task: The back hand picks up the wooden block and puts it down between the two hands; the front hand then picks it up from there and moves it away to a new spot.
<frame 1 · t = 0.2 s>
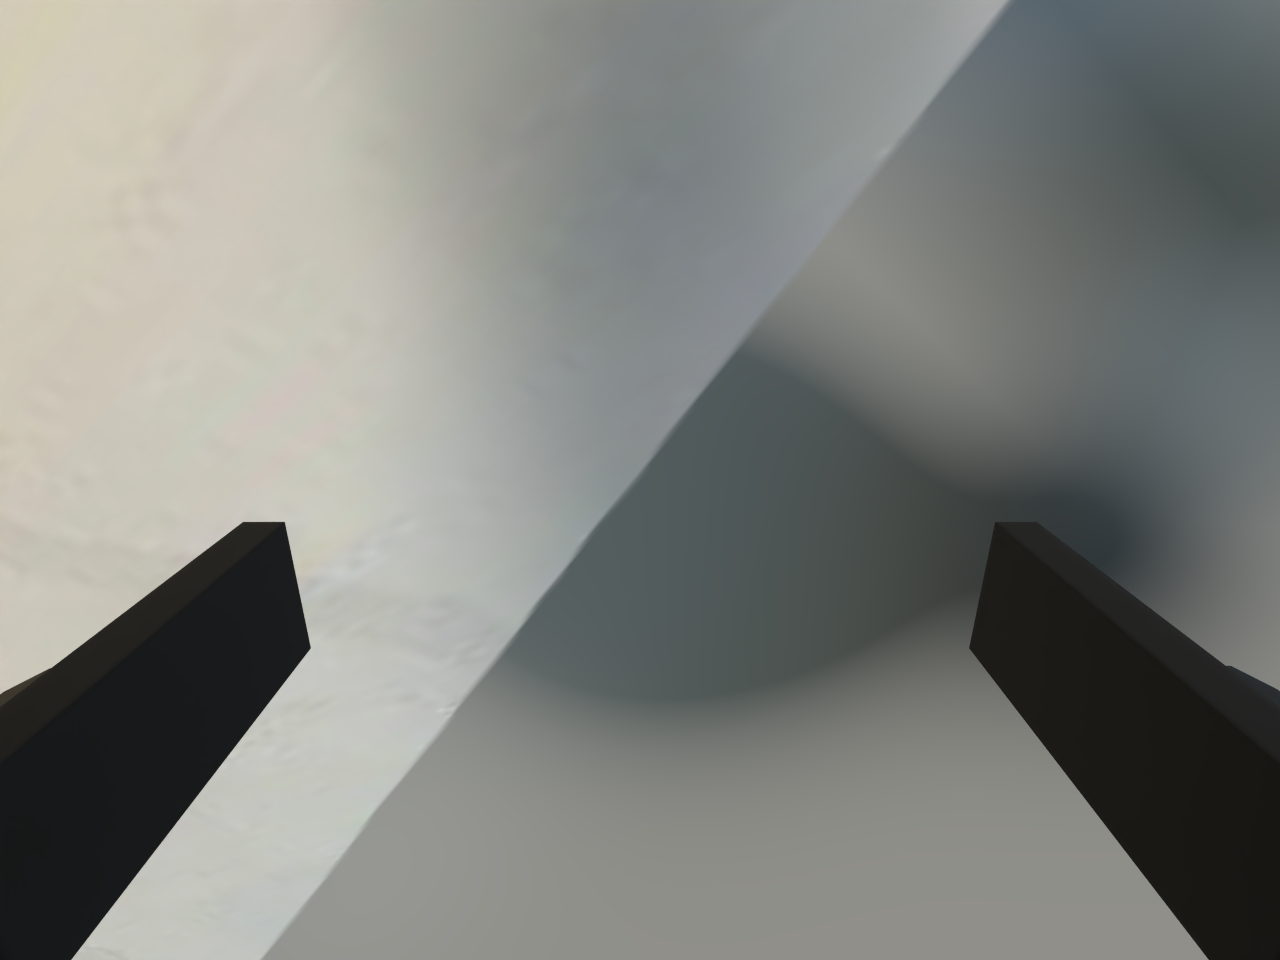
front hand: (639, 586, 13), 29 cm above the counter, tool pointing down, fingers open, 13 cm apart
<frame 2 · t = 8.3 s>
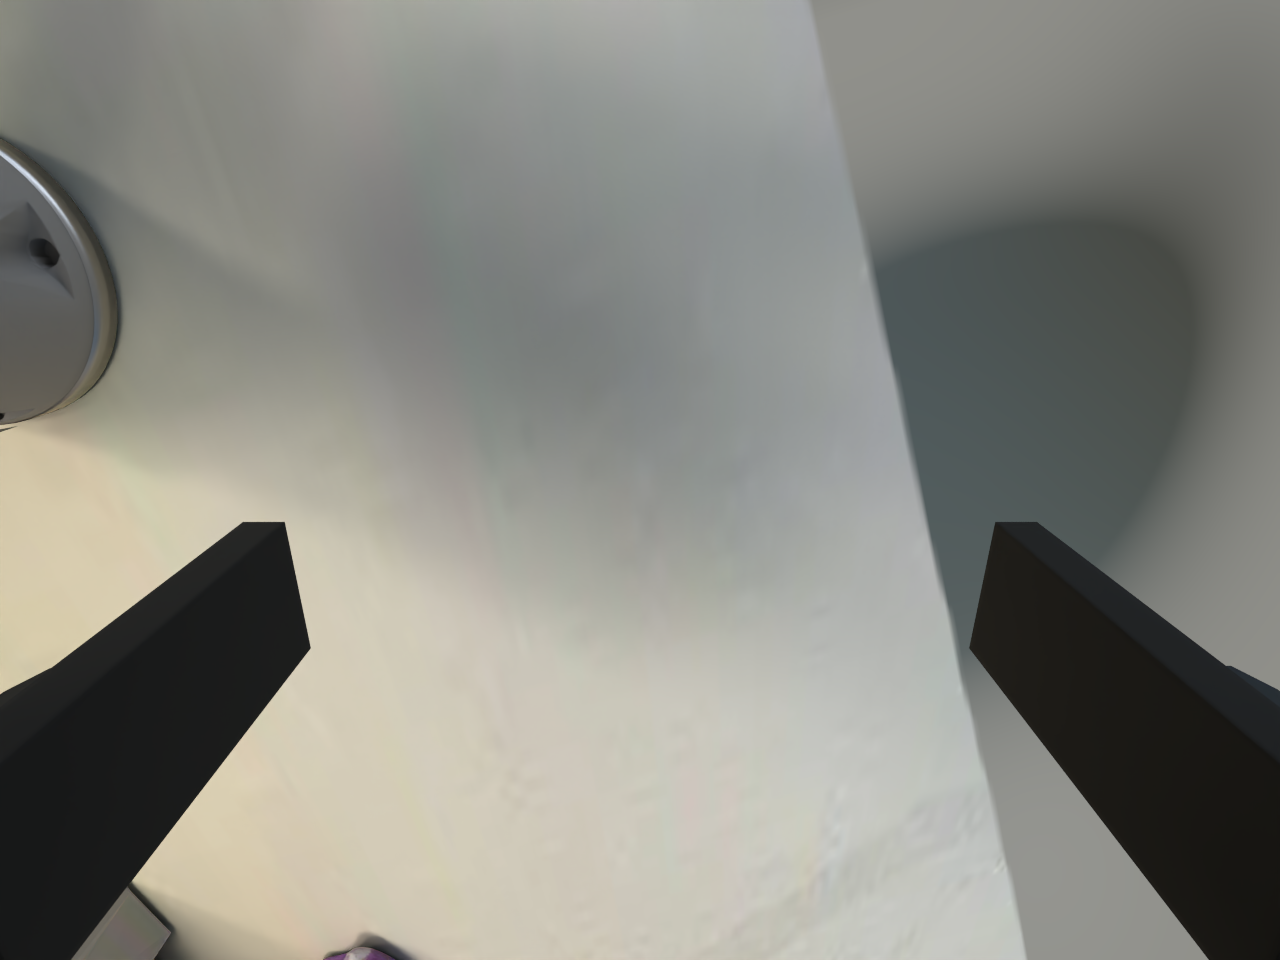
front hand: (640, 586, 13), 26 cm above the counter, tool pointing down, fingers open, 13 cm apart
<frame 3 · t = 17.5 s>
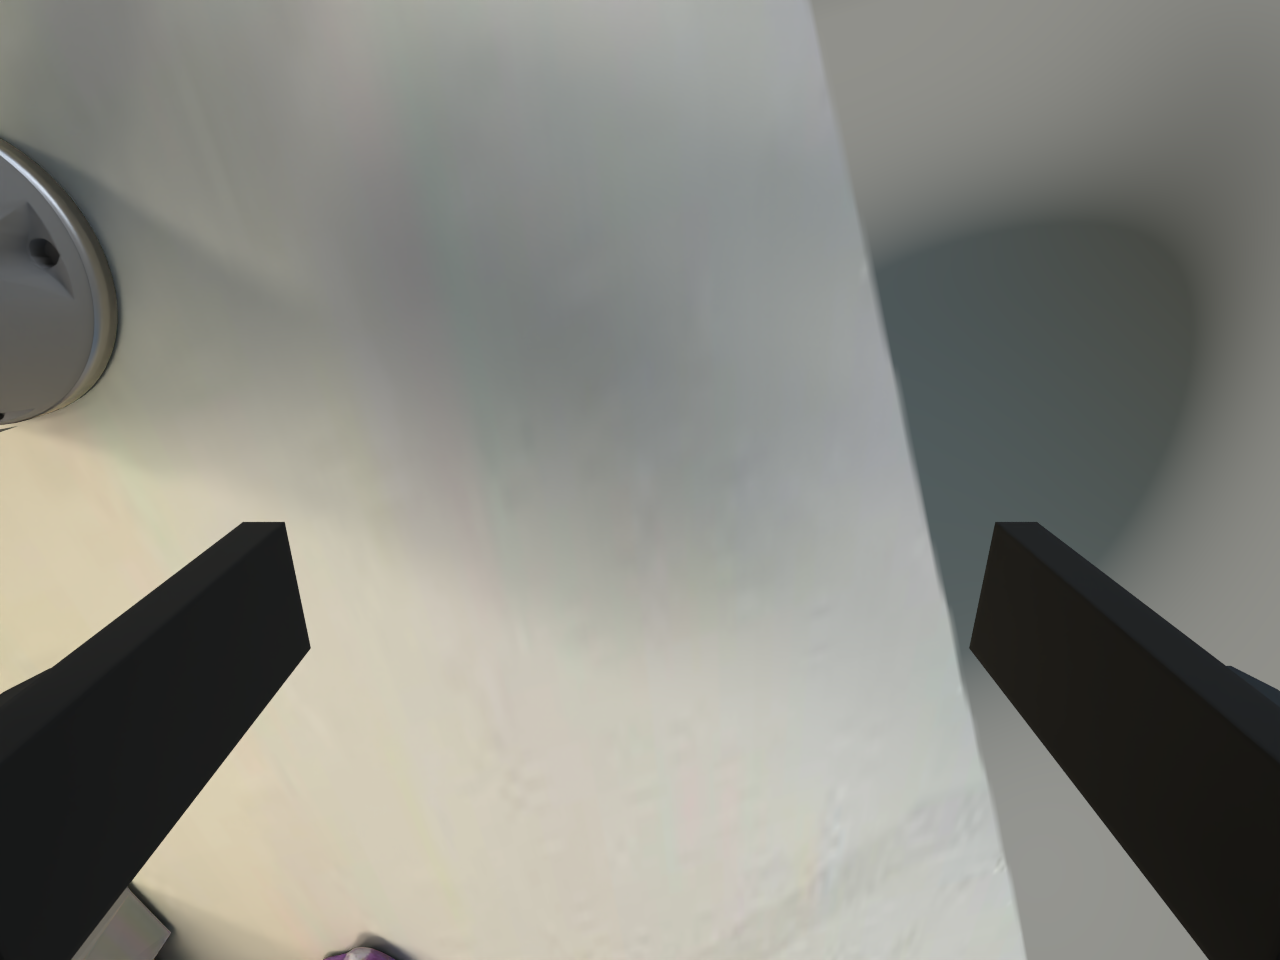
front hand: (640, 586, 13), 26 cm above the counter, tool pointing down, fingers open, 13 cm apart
when the back hand's fingers open (4 cm above the counter, at t = 26.8 s): block drops 2 cm, on the counter.
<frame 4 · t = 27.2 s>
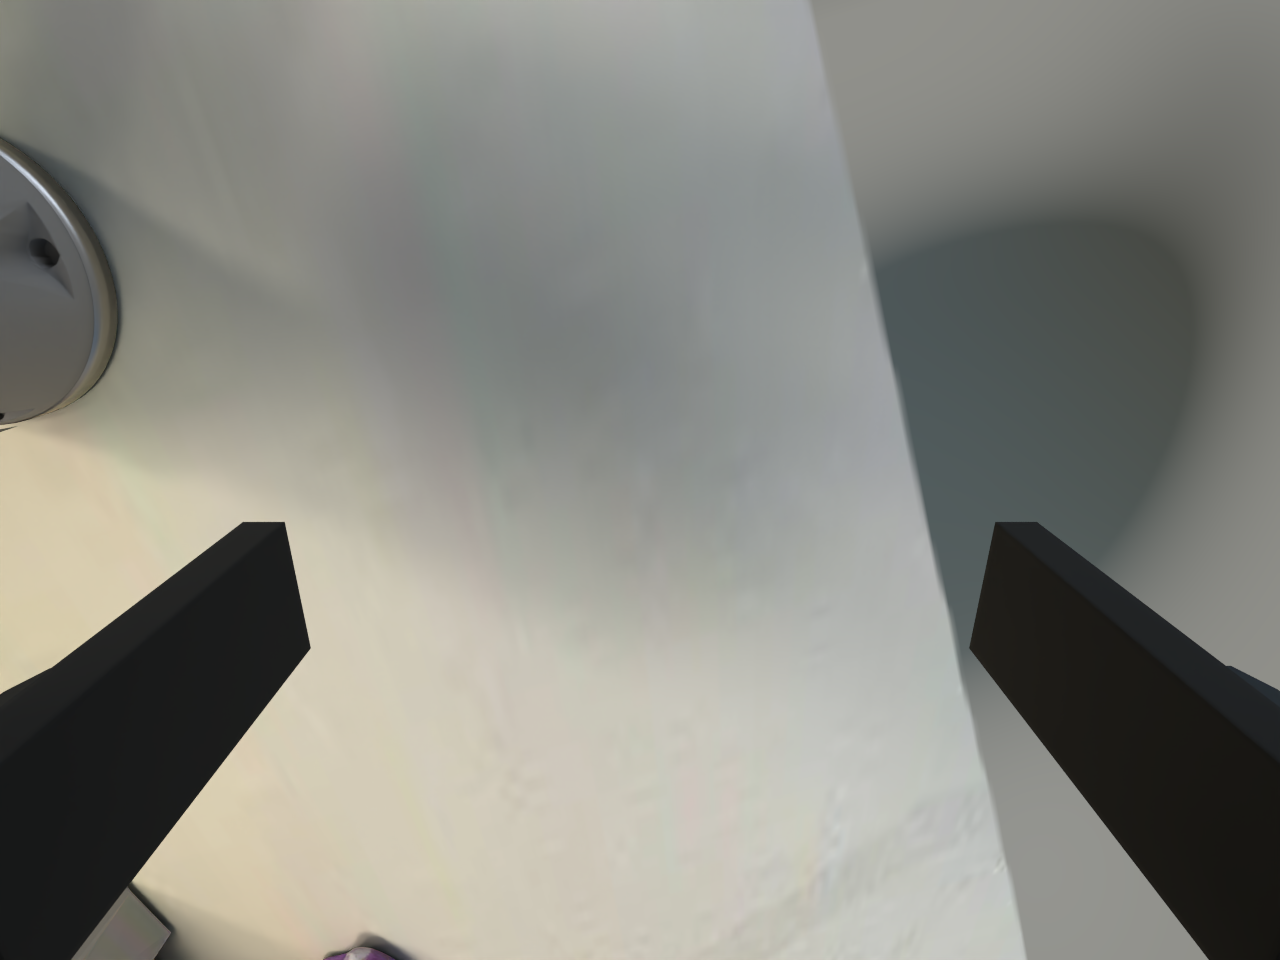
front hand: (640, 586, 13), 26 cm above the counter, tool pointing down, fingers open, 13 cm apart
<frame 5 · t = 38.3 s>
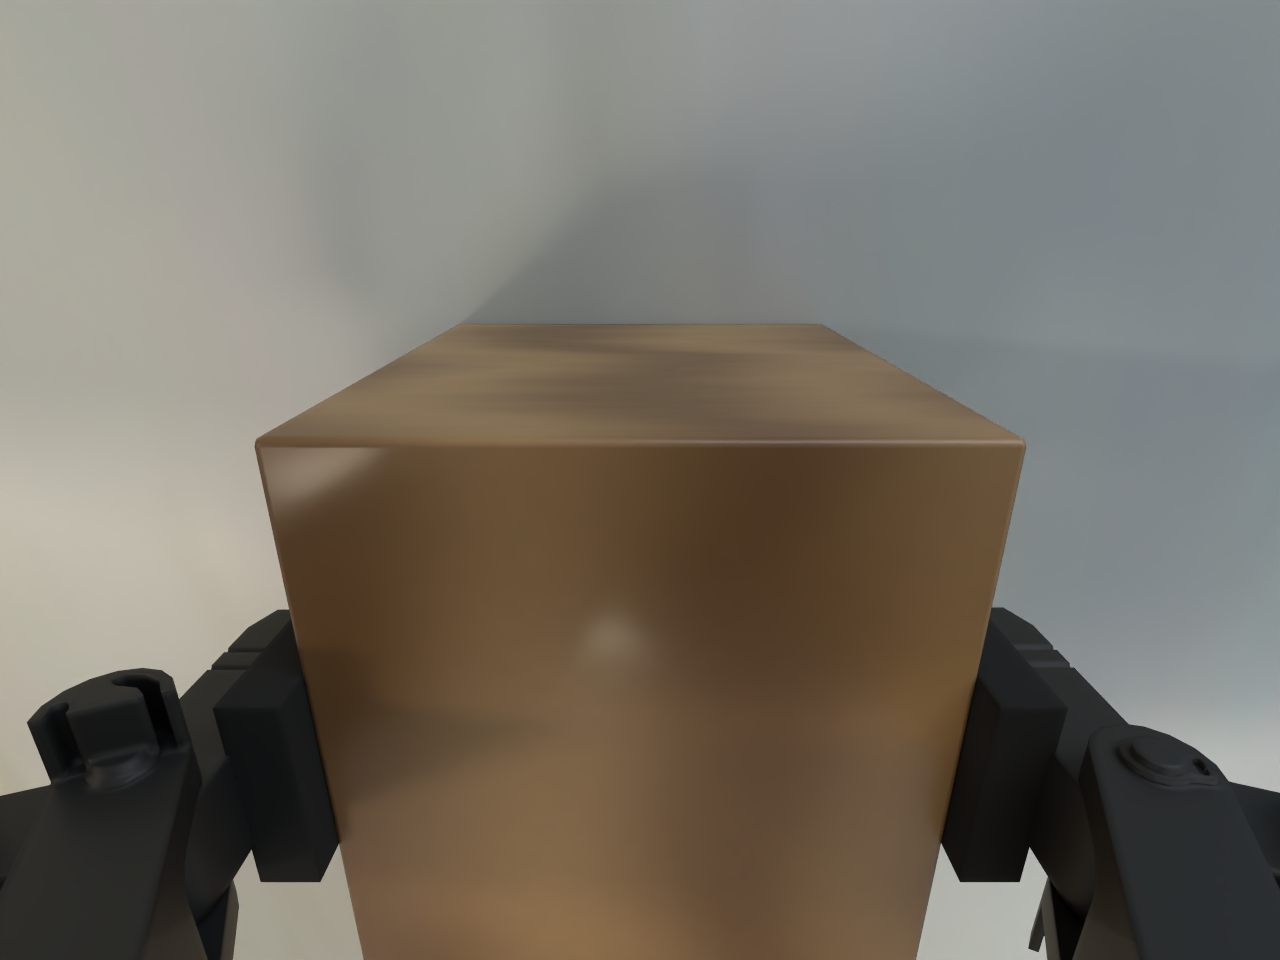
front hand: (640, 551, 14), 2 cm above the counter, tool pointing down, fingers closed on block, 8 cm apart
block: (640, 502, 16), on the counter, touching front hand
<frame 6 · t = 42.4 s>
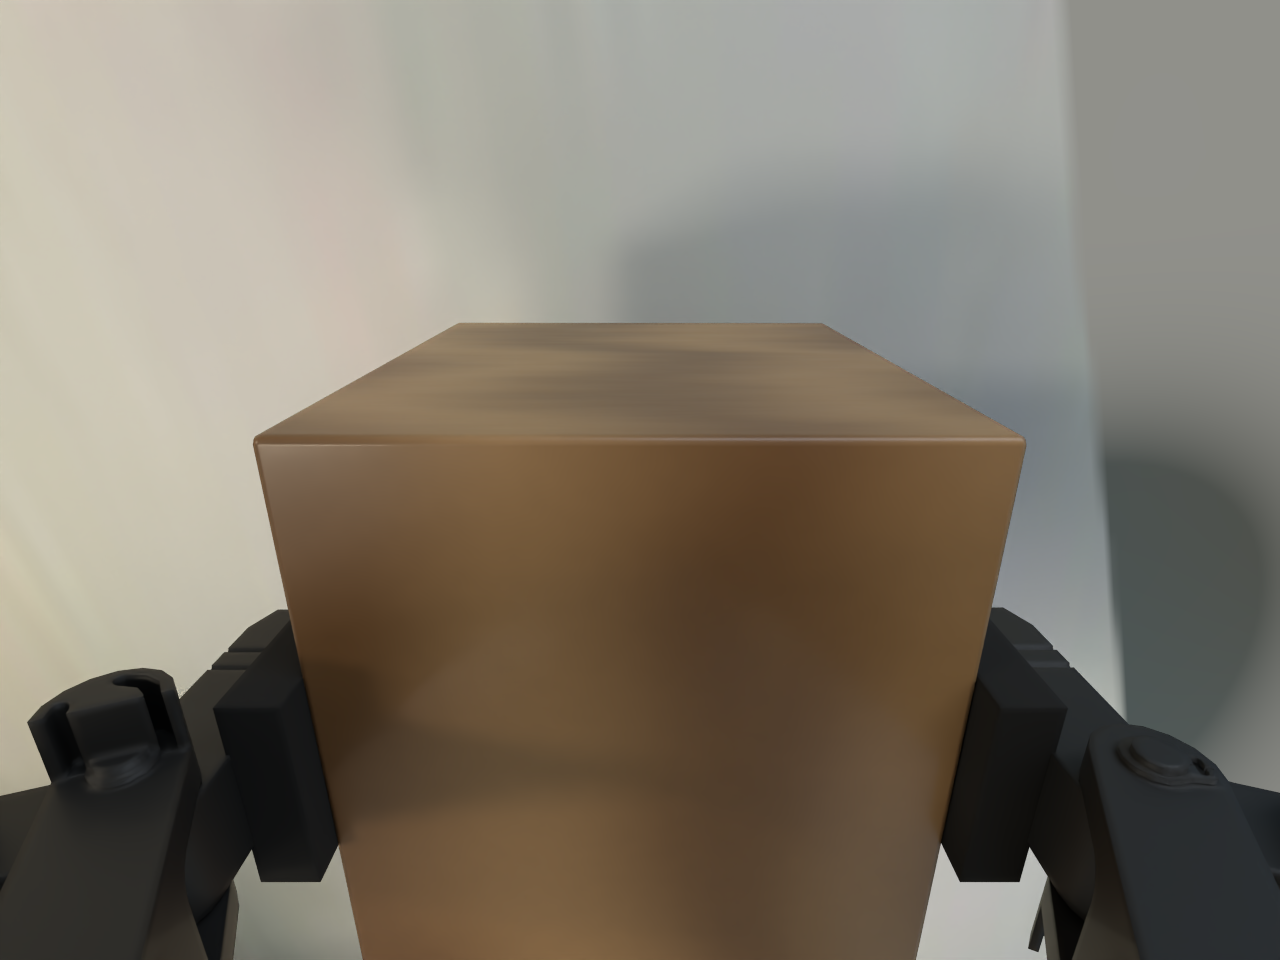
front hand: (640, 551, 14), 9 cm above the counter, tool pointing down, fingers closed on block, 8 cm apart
block: (640, 501, 16), point 7 cm above the counter, touching front hand
when the front hand's fingers open (4 cm above the counter, at t = 46.7 s): block drops 2 cm, on the counter.
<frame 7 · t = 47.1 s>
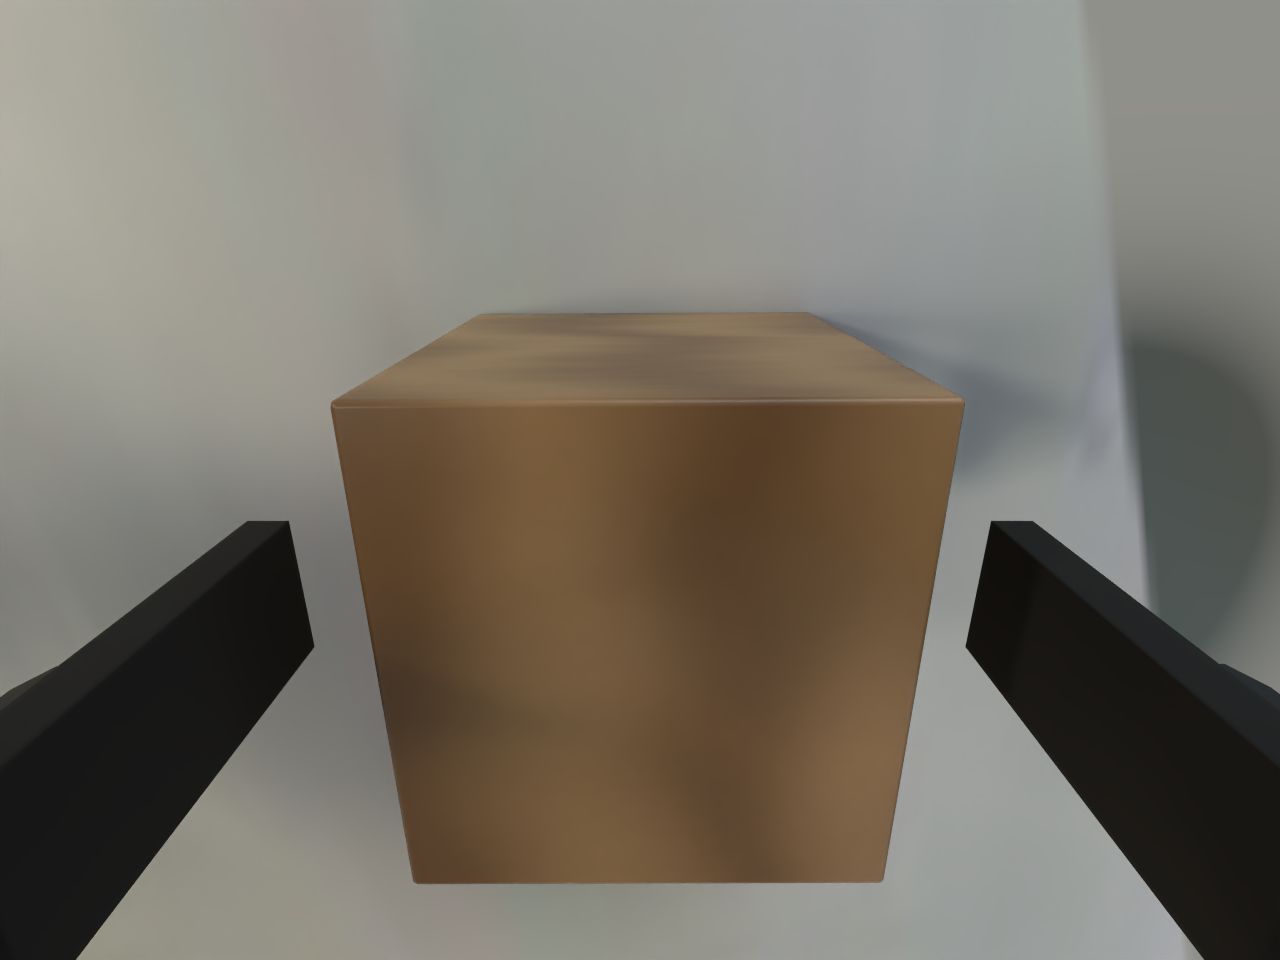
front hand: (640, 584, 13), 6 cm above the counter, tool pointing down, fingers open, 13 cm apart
block: (644, 477, 18), on the counter
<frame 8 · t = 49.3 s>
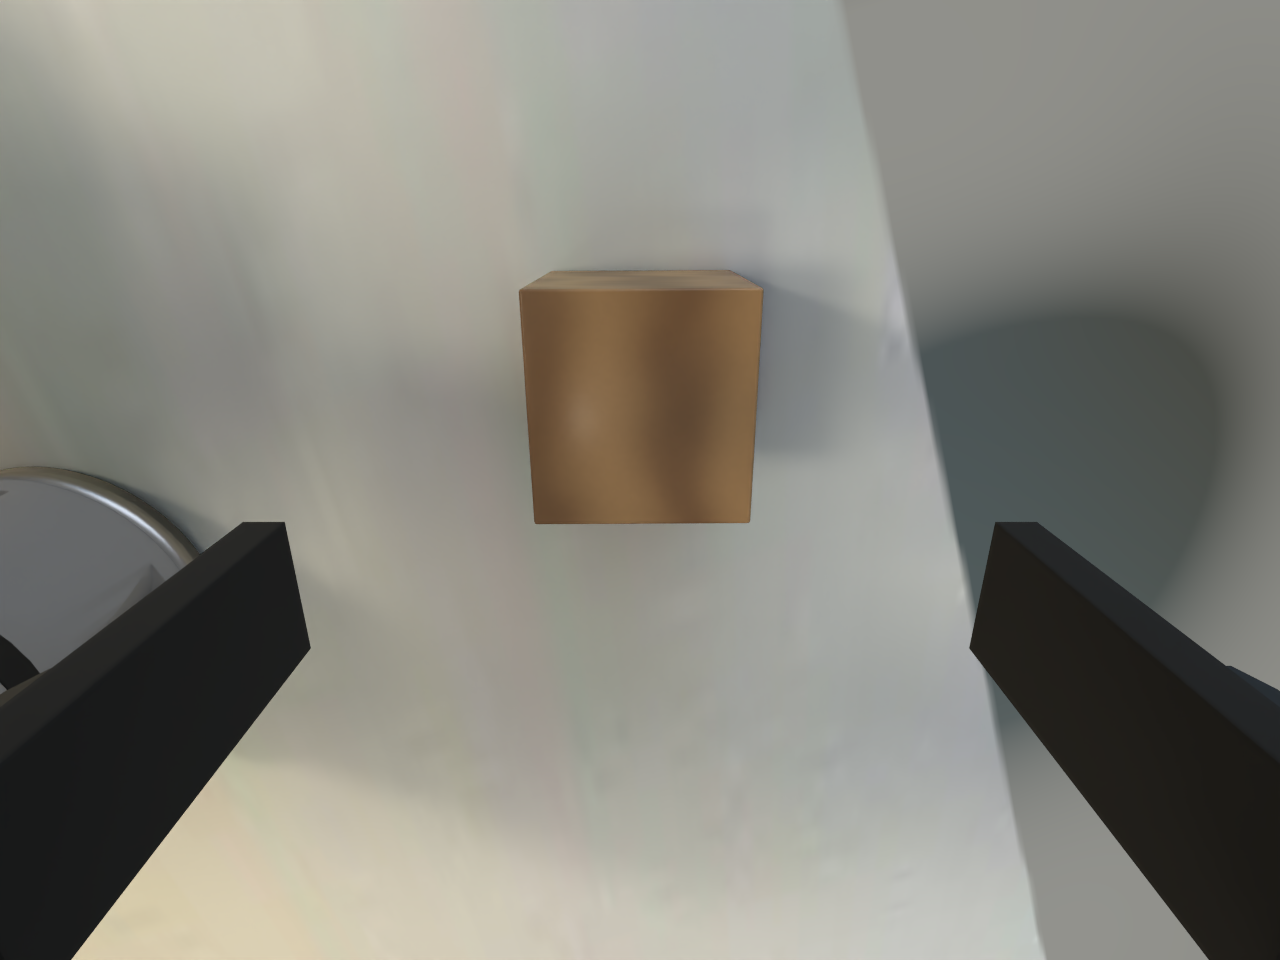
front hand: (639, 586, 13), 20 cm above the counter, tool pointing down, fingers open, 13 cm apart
block: (641, 365, 32), on the counter
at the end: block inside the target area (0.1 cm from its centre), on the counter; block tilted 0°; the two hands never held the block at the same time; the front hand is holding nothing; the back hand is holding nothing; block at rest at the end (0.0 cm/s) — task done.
